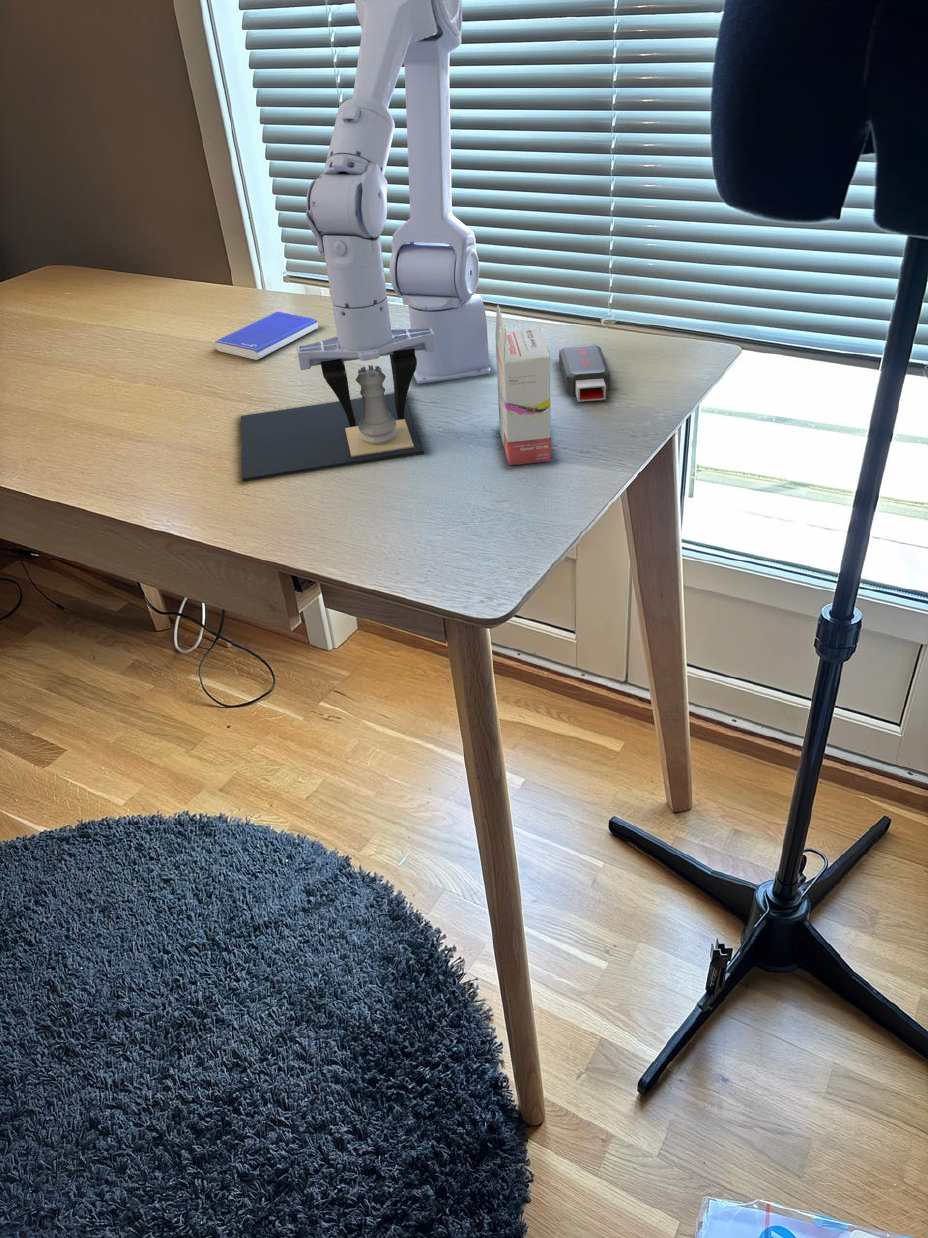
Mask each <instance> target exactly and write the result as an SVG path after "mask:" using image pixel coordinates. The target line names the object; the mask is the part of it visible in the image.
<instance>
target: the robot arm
mask: <svg viewBox="0 0 928 1238" xmlns="http://www.w3.org/2000/svg"><path fill="white" fill-rule="evenodd" d="M354 6H355V12H356V15H357V19H358V23H359V26H360V29H361V35H360V36H361V37H360V44H359V51H358V57H357V64H356V70H355V71H356V72H355V77H354V78H355V79H354V85H353V92H352V97H351V98H349V99H347V100H345V101H343V102H342V103H341V104H340V105H339V107H338V109H337V115H336V119H335V122H334V125H333V126H334V127H333V131H332V134H331V140H330V143H329V147H328V151H327V156H326V161H325V164H324V169H323V173H320V174H319V175H318V177H316V179H314V180H312V181H311V183H309V187H308V188H307V192H306V211H305V216H306V221H307V224H308V227H309V230H310V231H311V233H312V234H313V235H314V237H315V240H316V246H317V251H318V253H319V254H320V256H322V257H324V261H325V266H326V273H327V279H328V285H329V293H330V297H331V304H332V311H333V316H334V317H333V319H334V324H335V329H336V336H334V337H329V338H327V339H323V340H319V341H316V342H311V343H308V344H304V345H302V344H301V345H297V346H296V352H297V357H298V363H299V368H300V371H305V370H311V367H315V366H320V367H321V372H322V373H321V374H322V377H323V378H324V380H325V382H326V383H327V385H328V386H329V387H330V389H331V390H332V392H333V393H334V395H335V396H336V397H337V400H338V402H339V401H340V403H341V405H342V407H343V409H344V411H345V413H346V416H347V418H348V422H349V426H350V427H355V426H356V423H355V417H354V413H353V409H352V405H351V401H350V400H351V396H350V389H349V380H348V375H347V371H346V365H345V362H350V361H359V360H360V361H364V362H365V361H372V360H378V359H379V358H380V357H384V356H389V359H390V368H391V374H392V380H393V393H394V398H395V408H396V414H397V417H398V420H401V419H405V417H404V413H405V403H406V400H407V397H408V393H409V388H410V386H411V382H412V379H413V377H414V379H415V382H416V383H417V384H419V385H422V384H428V383H429V384H430V383H435V382H441V381H448V380H449V381H451V380H456V379H462V378H469V377H470V378H471V377H476V376H482V375H489V374H491V368H490V355H489V339H488V338H489V337H488V323H487V315H486V309H485V304H484V301H483V298H482V296H481V295H480V294H475V293H476V291H477V290H478V289H477V288H478V285H479V279H480V261H479V256H478V254H477V245H476V244H477V243H476V237H475V233H474V232H473V230H471V228H469V227H468V226H466V224H464V223H463V222H462V221H461V220H459V219H458V218H457V217H456V216H455V215H454V214H453V208H452V207H453V204H452V201H453V200H452V155H451V154H452V153H451V152H452V148H451V147H452V145H451V100H450V99H451V97H450V95H451V94H450V53H452V52H453V51H454V50H456V49H457V48H459V47H461V45H462V33H463V0H354ZM402 66H403V67H404V86H405V87H404V89H405V90H404V91H405V109H406V110H405V113H406V114H405V115H406V117H405V118H406V138H407V140H406V141H407V165H408V167H407V168H408V190H409V191H408V193H409V194H408V195H409V218H408V219H407V220H406V221H405V222H403V224H402V225H401V226H399V227H398V228H397V229H396V230H395V232H394V233H393V234H392V240H391V256H390V259H389V269H388V270H389V272H388V274H389V281H390V284H391V287H392V289H393V290H394V292H395V294H396V295H397V297H401V298H402V304H403V305H404V306H408V313H409V314H408V315H409V322H410V324H409V325H410V328H392V325H391V317H390V310H389V302H388V301H389V300H388V294H387V285H386V284H387V283H386V277H385V268H384V261H383V251H382V244H381V234H382V233H383V230H384V228H385V226H386V222H387V219H388V218H387V217H388V197H387V193H388V180H387V178H386V177H385V173H386V169H387V164H388V159H389V155H390V151H391V147H392V142H393V138H394V134H395V133H394V132H395V129H396V124H395V120H394V118H393V115H392V114H391V113H390V111H389V110H388V109H389V107H390V103H391V101H392V97H393V94H394V91H395V87H396V85H397V82H398V79H399V76H400V72H401V69H402ZM422 243H423V244H422ZM424 243H425V244H424ZM428 243H429V244H428Z"/></svg>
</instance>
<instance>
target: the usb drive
mask: <svg viewBox="0 0 928 1238" xmlns="http://www.w3.org/2000/svg"><path fill="white" fill-rule="evenodd" d="M558 351H559V352H558V365H559V369H560V373H561V376H562V380H563V384H564V389H565V391H566V394H568V395H570V396H571V397H576V400H577V402H578V403H579V402H580V403H581V402H591V401H605V400H606V399H607V394H608V392H609V391H610V389H611V388H610V385H611V373H610V369H609V367H608V364H607V362H606V361H607V360H606V358H605V356H604V353H603V350H602V348H601V346H599V345H598V344H584V345H583V344H582V345H570V346H563V347H562V348H561V349H559V350H558Z"/></svg>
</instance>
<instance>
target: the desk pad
mask: <svg viewBox="0 0 928 1238" xmlns="http://www.w3.org/2000/svg"><path fill="white" fill-rule="evenodd" d="M384 397H385V401H386V405H387V408H388V411H389V412H390V413H391V416H392V417H393V418H394V419H395V421H396V428H397V429H398V433H397V435H396V437H395V438H394V439H393V440H392V441H390V442H388V443H384V444H377V445H373V444H368V443H365V442H364V441H363V440H362V439H361V438H360V437H359V432H360V430H359V429H358V428H359V422H360V421H361V416H362V415H363V398H362V397H360V398H353V399H352V398H351V399H350V401H351V405H352V409H353V413H354V417H355V423H356V426H355V427H350V426H349V422H348V418H347V416H346V413H345V411H344V409H343V407H342V405H341V403H340V401H339V400H338V401H334V402H333V401H332V402H325V403H319V404H313V405H306V406H299V407H298V406H297V407H293V408H285V409H279V410H271V411H266V412H258V413H252V414H245V415H241V416H240V436H241V437H240V439H241V440H240V441H241V443H240V444H241V481H242V482H249V481H255V480H261V479H268V478H273V477H275V478H276V477H281V476H287V475H292V474H301V473H305V472H313V471H314V472H315V471H319V470H325V469H332V468H339V467H345V466H351V465H358V464H364V463H371V462H377V461H384V460H390V459H396V458H402V457H411V456H414V455H421V454H422V455H423V454H425V449H424V445H423V443H422V440H421V437H420V435H419V432H418V429H417V426H416V423H415V420H414V417H413V414H412V412H411V409H410V407H409V403H408V399H406V403H405V413H404V417H405V419H401V420H398V417H397V414H396V408H395V398H394V392H393V393H387V394H384Z"/></svg>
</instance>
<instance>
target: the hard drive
mask: <svg viewBox="0 0 928 1238" xmlns="http://www.w3.org/2000/svg"><path fill="white" fill-rule="evenodd" d="M317 329H319V325H318V320H317V319H315V318H312V317H307V316H303V315H296V314H292V313H288V312H287V313H286V312H281V311H275V312H273V313H271V314H269V315H267V316H265V317H262V318H261V319H259V320H257V321H254V322H253V323H250V324H248V325H246V326H244V327H242V328H240V329H238V330H236V331H234V332H231V333H229V334H227V335H225V336H223V337H221V338H218V339H217V340H215V341H214V345H215V349H216V350H217V351H218V352H221V353H226V354H230V355H234V356H238V357H243V358H246V359H251V360H254V361H257V360H260V359H261V358H264V357H265V356H267V355H269V354H271V353H273V352H275V351H277V350H279V349H280V348H282V347H285V346H286V345H288V344H290V343H293V342H294V341H296V340H298V339H300V338H302V337H303V336H305V335H307V334H309V333H312V332H313V331H315V330H317Z"/></svg>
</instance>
